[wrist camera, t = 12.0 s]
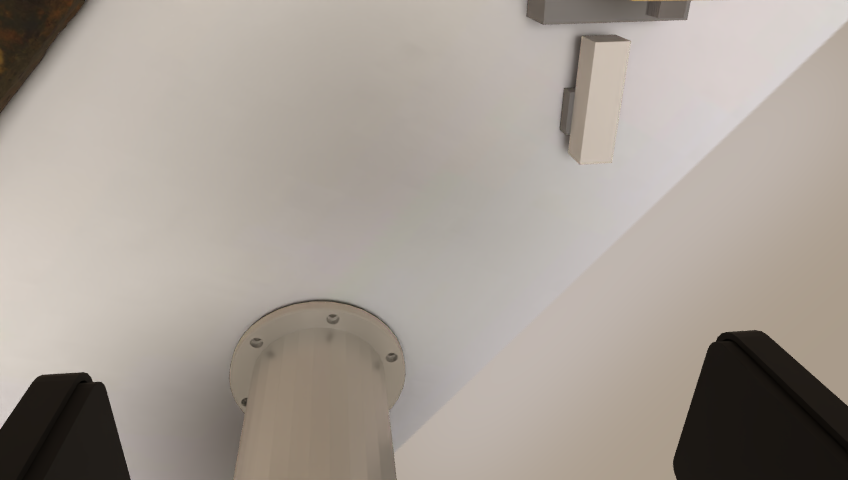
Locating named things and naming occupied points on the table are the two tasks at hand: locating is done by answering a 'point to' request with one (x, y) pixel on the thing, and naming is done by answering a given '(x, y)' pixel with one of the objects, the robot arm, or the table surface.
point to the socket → (594, 72)
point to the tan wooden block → (665, 8)
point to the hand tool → (28, 37)
